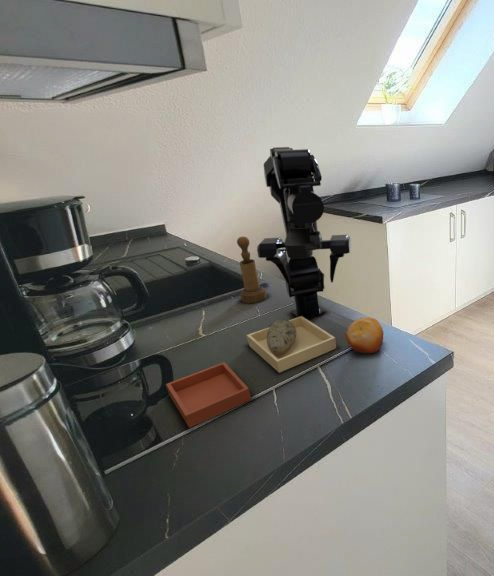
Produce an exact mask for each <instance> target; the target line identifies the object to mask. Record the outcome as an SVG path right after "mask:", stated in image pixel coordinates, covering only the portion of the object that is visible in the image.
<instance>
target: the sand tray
mask: <svg viewBox="0 0 494 576" xmlns="http://www.w3.org/2000/svg"><path fill="white" fill-rule="evenodd" d="M288 321H290V322H292V323H293V324H294V326H295V328H296V332H297V335H296V339H295V341H294V343H293V345H292V346H291V347H290V348H289V349H288V350H287V351H285V352H284V353H281V354H275V353H273V352H271V351H270V349H269V347H268V345H267V332H268V330H269V328H270V326H269V327H266V328H263V329H260V330H256V331H254V332H252V333H249V334H246V339H247V343H248V346H249V347H250V348H251V349H252V351H254V352H255V353H256V354H258V355H259V357H261V358H262V359H263V360H264V361H265V362H266V363H267V364H269V365H270V366H271V367H272V368H273V369H274V370H275V371H277V372H278V373H279V374H280V373H282V372H284V371H287V370H289V369H291V368H293V367H296V366H299V365H301V364H303V363H305V362H308V361H310V360H313V359H314V358H315V359H316V358H317V357H319V356H323V355H325V354H327V353H329V352H331V351H334V350H335V349H337V342H336V341H337V340H336V337H335V336H333V335H332V334H330V333H329V332H327V331H325V330H324V329H323V328H321V327H319V326H318V325H316V324H315V323H313V322H311V321H310V320H309V319H305V318H304V317H302V316H300V317H295V318H292V319H289V320H288Z"/></svg>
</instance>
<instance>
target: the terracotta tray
mask: <svg viewBox="0 0 494 576" xmlns="http://www.w3.org/2000/svg"><path fill="white" fill-rule="evenodd" d="M165 386H166V389H167V392H168V395H169V397H170V399H171V400H172V402H173V404H174V406H175V407H176V408H177V411H178V412H179V414H180V416H181V417H182V419H183V420H184V422H185V424H186V425H187V427H188V428H189V429H190V428H193V427H195V426H197V425H199V424H201V423H203V422H206V421H207V420H210V419H212V418H214V417H218V416H219V415H221V414H222V413H226V412H227V411H229V410H232V409H234V408H237V407H238V406H241V405H243V404H245V403H247V402H250V401H251V400H252V397H251V391H250V388H249V387H248V385H246V383H244V381H243V380H242V379H241V378H240V377H239V376H238V375H237V374H236V373H235V372H234V371H233V369H232V368H231V367H230V366H229V365H228V364H227V363H226V362H225V361H224V362H221V363H218V364H215V365H213V366H210V367H208V368H205V369H202V370H199V371H197V372H195V373H192V374H189V375H185V376H184V377H181V378H179V379H175V380H173V381H170V382H168V383H166V384H165Z"/></svg>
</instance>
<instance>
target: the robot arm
mask: <svg viewBox="0 0 494 576" xmlns="http://www.w3.org/2000/svg"><path fill="white" fill-rule="evenodd" d="M263 176H264V181H265V182H264V183H265V185H266V188H269V192H270V196H271V197H272V198H273V199H274V200H275V201H276V202H277V203H278V204H279V208H280V213H281V218H282V223H283V227H284V231H285V232H284V233H285V240H284V241H283V239H282V237H264V239H263V240H262V241H261V242H260V243H259V244H258V245H257V246H256V251H257V256H258V258H259V259H264V258H265V261H266V262H271V263H272V264H274V265H275V267H277V269H278V270H279V272H280V273H281V275H282V277H283V278H284V280H285V286H286V292H287V295H288V297H289V298H294V304H295V305H294V306H295V309H294V310H291V313H290V314H292V315H293V316H295V318H297V317H300V316H302V317H304V318H305V319H307V320H309V319H312V318H314V317H318V316H320V315H323V314H326V310H324V309H323V308H321V307H320V306H319V305H320V303H319V296H318V293H320V292H324V290H325V273H324V272H323V271H322V269H321V268H319V266H318V261H317V258H316V257H315V256H314V255H313V254H314V251H316V250H329V251H330V254H329V279H330V280H329V281H330V283H334V279H335V275H336V270H337V265H338V262H339V259H340V258H344V257H345V255H347V254H350V253H351V249H352V239H351V236H349V235H348V234H332V235H331V237H330V239H323V237H322V233H321V231H319V229H318V221H319V220H320V219H321V218H322V216H323V215H324V211H325V206H324V202H323V200H322V198H321V197H320V196H319V195H318V194H317V193H315V191H314V187H318V186H319V187H320V186H321V185H322V184H321V182H322V179H323V178H322V177H323V176H322V173H321V170H320V167H319V163H318V161H317V160H316V159H315V156H314V154H311V151H310V150H309V149H308V148H304V149H303V148H301V149H293V147H290V146H279V147H278V146H277V147H272V148H269V156H268V158H267V159H266V161H264V163H263ZM288 258H289V260H288Z"/></svg>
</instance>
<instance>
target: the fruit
mask: <svg viewBox="0 0 494 576" xmlns="http://www.w3.org/2000/svg"><path fill="white" fill-rule="evenodd" d="M344 336H345V340H346V342H347V344H348V345H349V347H350V348H351V350H353V351H354V352H355V353H358V354H359V353H360V354H376V353H377V352H378V351H380V349H381V348H382V345H383V343H384V330H383V327H382V325H381V323H380V322H379V321H378V319H376V318H375V317H371V316H370V317H369V316H367V317H360V318H358V319H355V320H354V321H353V322H351V323H350V324H349V325H348V327H347V329H346V332H345V334H344Z"/></svg>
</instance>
